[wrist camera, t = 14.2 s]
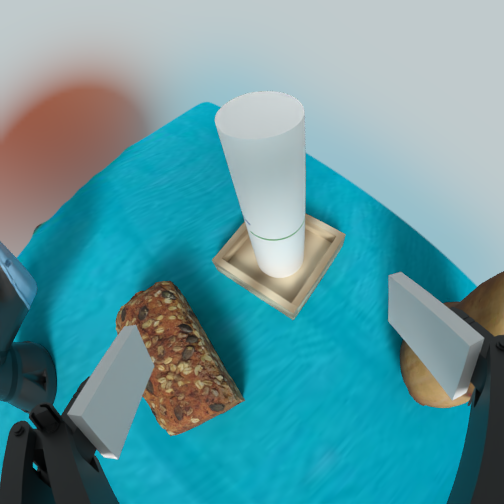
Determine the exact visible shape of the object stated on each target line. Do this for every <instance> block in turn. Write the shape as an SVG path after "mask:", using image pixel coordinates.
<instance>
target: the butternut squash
mask: <svg viewBox="0 0 504 504" xmlns="http://www.w3.org/2000/svg"><path fill="white" fill-rule="evenodd" d="M443 304H444V305H445V306H447V307H448V308H451V307H455V308H458V309H460V310H463V311H464V312H465V313H466V314H468V315H469V317H471V318H473V319H474V320H475V322H478V323H479V324H480V325H481V326H483V327H484V328H485V329H486V330H488V331H489V332H490V333H491V334H492V335H494V336H497V335H504V271H503V272H501V273H499V274H497V275H496V276H494V277H492V278H490V279H489V280H487V281H485V282H483V283H482V284H480V285H479V286H478V287H477V288H476V289H475V290H473V291H472V292H471V293H470V294H469V295H468V296H467V297H466V298H464V299H463V300H462V301H461V302H448V303H443ZM400 366H401V373H402V377H403V380H404V383H405V385H406V386H407V388H408V391H409V394H410V395H411V396H412V397H413V398H414V400H415V401H416V402H418V403H419V404H421V405H423V406H424V405H427V406H430V407H437V408H450V407H453V406H458V405H461V404H463V403H466V402H468V401H469V400H470V398H471V395H472V393H473V391H474V388H475V387H474V386H473V384H472V383H471V382H470V384H469V387H468V390H467V392H466V393H465V394H463V395H462V396H460V397H458V398H456V399H454V400H453V401H452V400H451V398H450V397H449V396H448V394H447V393H446V392H445V390H444V389H443V388H442V387H441V385H440V384H439V383H438V381H437V380H436V379H435V378H434V376H433V375H432V374H431V372H430V371H429V370H428V369H427V367H426V366H425V365H424V364H423V362H422V361H421V360H420V359H419V357H418V356H417V355H416V354H415V353H414V351H413V350H412V349H411V348H410V346H409V345H408V344H407V343H406V342H405V340H404V339H403V342H402V345H401V349H400Z"/></svg>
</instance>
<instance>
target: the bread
mask: <svg viewBox="0 0 504 504" xmlns="http://www.w3.org/2000/svg"><path fill="white" fill-rule="evenodd" d="M132 325H136V326H137V328H138V331H139V333H140V335H141V338H142V340H143V342H144V344H145V347H146V349H147V351H148V353H149V355H150V357H151V360H152V362H153V364H154V368H153V371H152V373H151V376H150V378H149V380H148V383H147V385H146V388H145V390H144V393H143V395H142V396H143V397H144V398H145V400H146V401H147V403H148V404H149V406H150V408H151V410H152V413H153V414H154V416H155V417H156V420H157V422H158V423H159V424H160V426H161V427H162V428H163V429H166V431H167V432H168V434H169V435H170V436H172V435H177V434H180V433H183V432H185V431H188V430H190V429H192V428H194V427H196V426H198V425H200V424H202V423H204V422H205V421H207V420H210V419H212V418H213V417H215V416H217V415H219V414H222V413H224V412H226V411H228V410H229V409H231V408H232V407H234V406H236V405H237V404H239V403H241V402H243V401H245V400H244V398H243V397H242V395H241V393H240V391H239V389H238V388H237V387H236V384H235V382H234V381H233V379H232V378H231V377H230V375H229V374H228V372H227V370H226V368H225V366H224V365H223V362H222V361H221V360H220V358H219V356H218V354H217V352H216V351H215V350H214V348H213V345H212V344H211V342H210V340H209V339H208V337H207V335H206V333H205V332H204V330H203V328H202V327H201V325H200V323H199V321H198V319H197V317H196V316H195V314H194V313H193V310H192V309H191V307H190V306H189V304H188V302H187V300H186V298H185V297H184V296H183V294H182V293H181V291H180V290H179V289H178V287H177V286H176V285H175V284H174V283H173V282H171V281H162V282H157V283H155V284H154V285H153V286H151V287H150V288H148V289H147V290H146V291H140V292H138V293H136V294H135V295H134V296H133V297H132V298H131V300H130V301H129V302H128V303H126V304H125V305H124V306H122V307H121V308H120V311H119V312H118V314H117V318H116V330H117V333H118V334H119V333H120V332H121V330H122V329H123V327H124V326H132Z"/></svg>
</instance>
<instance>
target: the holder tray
mask: <svg viewBox="0 0 504 504" xmlns="http://www.w3.org/2000/svg"><path fill="white" fill-rule="evenodd" d="M345 235H346V234H344V233H342V232H340V231H338V230H337V229H335V228H333V227H331V226H329V225H327V224H325V223H323V222H321V221H319V220H318V219H316V218H314V217H312V216H310V215H308V214H306V213H305V240H304V260H303V263H302V265H301V267H300V269H299V270H298V271H297V272H296V273H294V274H293V275H291V276H288V277H285V278H274V277H271V276H269V275H267V274H265V273H264V272H263V271H262V270H261V269H260V268H259V266H258V264H257V260H256V257H255V254H254V250H253V247H252V244H251V240H250V237H249V234H248V230H247V227H246V224H245V222H244V223H243V224H242V225H241V226H240V228H239V229H238V230H237V231H236V232H235V233H234V235H233V236H232V237H231V238H230V239H229V241H228V242H227V243H226V244H225V245H224V247H223V248H222V249H221V250H220V251H219V252H218V254H217V255H216V256H215V257H214V258H213V260H212V261H213V263H214V264H215V266H216V268H217V269H218V271H220V272H221V273H223V274H224V275H226V276H227V277H229V278H230V279H232V280H233V281H235V282H236V283H238V284H239V285H241V286H242V287H244V288H245V289H247V290H248V291H250V292H251V293H253V294H254V295H256V296H257V297H259V298H260V299H262V300H263V301H265V302H266V303H268V304H269V305H271V306H272V307H274V308H276V309H277V310H279V311H280V312H282V313H283V314H285V315H286V316H288V317H289V318H291V319H293V320H294V319H295V317H296V316H297V315H298V313H299V312H300V310H301V309H302V307H303V306H304V304H305V303H306V301H307V300H308V298H309V297H310V296H311V294H312V293H313V291H314V290H315V288H316V287H317V285H318V283H319V282H320V280H321V279H322V277H323V276H324V274H325V273H326V271H327V270H328V268H329V267H330V265H331V263H332V262H333V260H334V259H335V257H336V255H337V254H338V252H339V251H340V249H341V247H342V246H343V242H344V238H345Z"/></svg>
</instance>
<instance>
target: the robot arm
mask: <svg viewBox="0 0 504 504" xmlns="http://www.w3.org/2000/svg"><path fill="white" fill-rule="evenodd" d="M36 293H37V284H36V282H35V280H34V278H33V277H32V276H31V274H30V273H29V272H28V271H27V269H26V268H25V267H24V266H23V265H22V264H21V263H20V262H19V260H18V259H17V258H16V257H15V256H14V255H13V254H12V253H11V252H10V251H9V250H8V249H7V248H6V247H5V246H4V245H3V244H2V243H1V242H0V401H5V402H8V403H10V404H11V405H13V406H15V407H17V408H19V409H21V410H22V411H24V412H26V413H28V414H29V419H30V420H31V421H32V422H33V423H34V425H35V426H36V427H37V428H38V429H33V428H32V427H31V426H30V425H29V424H28V422H26V421H20V422H17V423H16V424H14V425H13V427H12V428H11V430H10V432H9V436H8V441H7V445H6V450H5V456H4V461H3V467H2V474H1V482H0V504H119V502H118V500H117V498H116V496H115V494H114V493H113V491H112V489H111V487H110V485H109V482H108V480H107V478H106V476H105V474H104V472H103V470H102V467H101V465H100V463H99V460H98V459H97V457H96V456H95V455H94V454H95V451H96V449H97V450H98V451H99V452H100V453H101V455H102V456H103V457H107V458H113V459H119V456H120V453H121V451H122V448H123V445H124V442H125V440H126V437H127V434H128V432H129V429H130V426H131V424H132V421H133V418H134V416H135V413H136V411H137V408H138V405H139V403H140V400H141V398H142V395H143V393H144V390H145V388H146V385H147V383H148V380H149V378H150V376H151V373H152V371H153V368H154V364H153V362H152V360H151V357H150V355H149V353H148V351H147V349H146V347H145V344H144V342H143V340H142V338H141V335H140V333H139V331H138V328H137V326H136V325H132V326H124V327H123V329H122V330H121V332H120V333H119V334H118V336H117V337H116V339H115V340H114V342H113V343H112V345H111V346H110V348H109V349H108V351H107V352H106V353H105V355H104V356H103V358H102V359H101V361H100V363H99V364H98V366H97V367H96V369H95V370H94V372H93V373H92V375H91V376H90V377H88V378H87V379H86V380H85V381H83V382H82V383H81V385H80V386H79V388H78V389H77V392H76V393H75V394H74V396H73V398H72V399H71V400H70V402H69V404H68V405H67V407H66V408H65V410H64V412H63V413H62V415H61V416H60V414H59V413H58V412H57V410H56V409H55V408H54V406H53V405H52V404H53V402H54V399H55V394H56V373H55V368H54V364H53V361H52V359H51V356H50V354H49V353H48V351H47V350H46V349H45V348H44V347H43V346H41V345H39V344H37V343H34V342H30V341H25V342H13V340H14V338H15V336H16V334H17V332H18V330H19V328H20V326H21V324H22V322H23V320H24V318H25V316H26V314H27V312H28V311H29V310H30V308H31V304H32V301H33V299H34V297H35V295H36ZM388 322H389V323H390V324H391V325H392V326H393V327H394V329H395V330H396V331H397V332H398V333H399V334H400V336H401V337H402V338H403V339H404V340H405V342H406V343H407V344H408V345H409V346H410V348H411V349H412V350H413V351H414V353H415V354H416V355H417V356H418V357H419V359H420V360H421V361H422V362H423V364H424V365H425V366H426V367H427V369H428V370H429V371H430V372H431V374H432V375H433V376H434V378H435V379H436V380H437V381H438V383H439V384H440V385H441V387H442V388H443V389H444V390H445V392H446V393H447V394H448V396H449V397H450V398H451V400H452V401H453V400H454V399H456V398H458V397H460V396H462V395H463V394H465V393H466V392H467V390H468V387H469V384H470V382H471V383H472V384H473V386H474V387H475V388H474V391H473V393H472V395H471V398H470V400H469V403H468V405H467V406H470V404H471V410H470V417H469V423H468V429H467V434H466V439H465V444H464V448H463V452H462V456H461V460H460V464H459V468H458V471H457V475H456V478H455V481H454V484H453V487H452V490H451V493H450V496H449V499H448V501H447V504H504V335H497V336H494V335H492V334H491V333H490V332H489V331H488V330H486V329H485V328H484V327H483V326H481V325H480V324H479V323H478V322H475V320H474V319H473V318H471V317H469V315H468V314H466V313H465V312H464V311H463V310H460V309H458V308H455V307H451V308H448V307H447V306H445V305H444V304H443V303H441V302H440V301H439V300H438V299H436V298H435V297H434V296H432V295H431V294H430V293H429V292H427V291H426V290H425V289H423V288H422V287H421V286H419V285H418V284H417V283H415V282H414V281H413V280H411V279H410V278H409V277H407V276H406V275H405V274H403V273H402V272H399V273H395V274H391V275H389V307H388ZM471 402H472V403H471ZM33 462H34V463H35V464H36V465H37V466H38V469H37V471H36V470H35V469H34V468H33Z"/></svg>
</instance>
